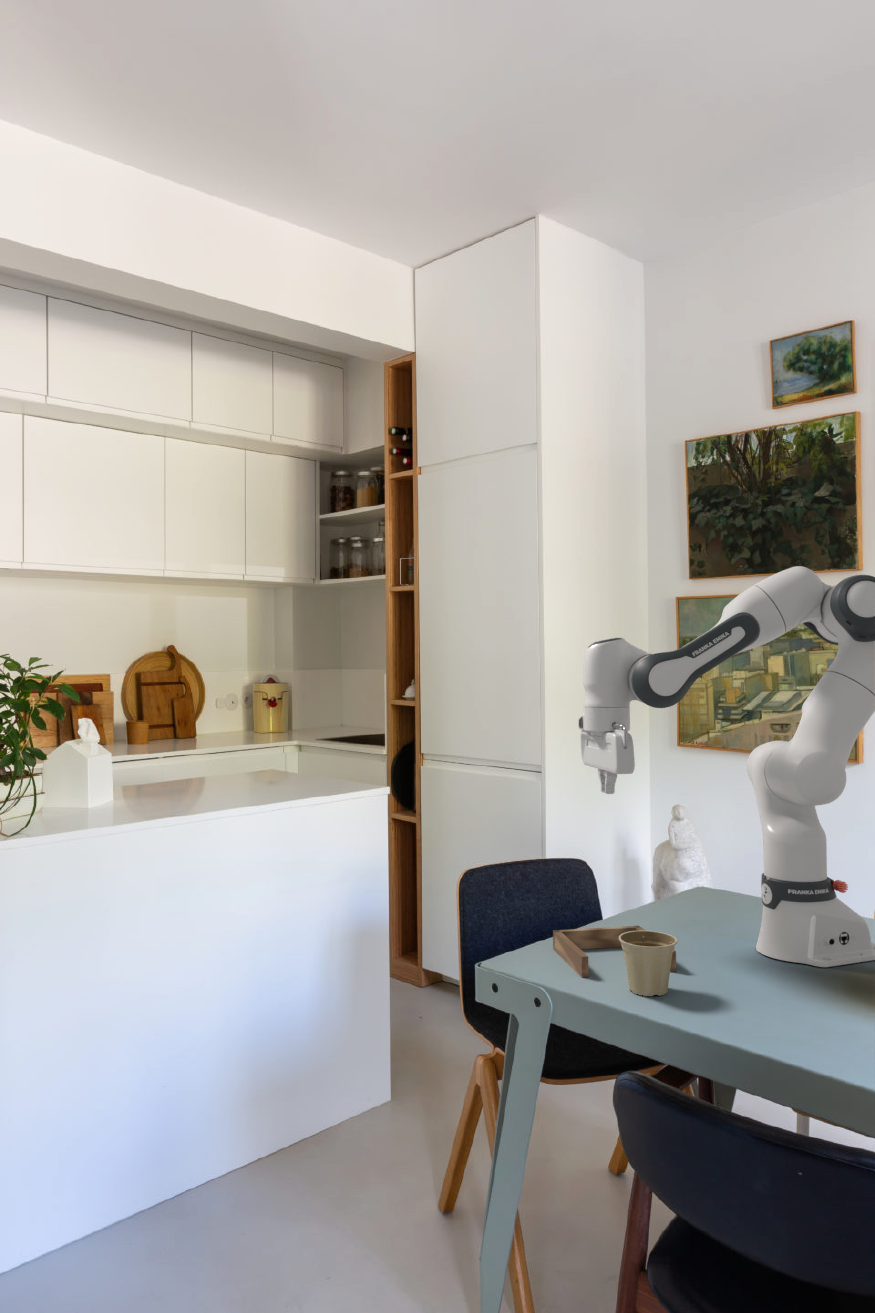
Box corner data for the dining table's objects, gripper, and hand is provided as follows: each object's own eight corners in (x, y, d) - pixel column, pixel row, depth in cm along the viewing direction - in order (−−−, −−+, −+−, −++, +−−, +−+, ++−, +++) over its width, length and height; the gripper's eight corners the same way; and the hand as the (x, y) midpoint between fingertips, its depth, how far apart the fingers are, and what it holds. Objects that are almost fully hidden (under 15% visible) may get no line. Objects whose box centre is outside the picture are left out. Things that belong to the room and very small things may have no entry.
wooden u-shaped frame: (639, 943, 179) (638, 925, 179) (676, 971, 162) (675, 951, 162) (553, 949, 176) (553, 930, 176) (581, 977, 159) (581, 957, 159)
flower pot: (679, 1002, 147) (679, 947, 147) (619, 999, 149) (618, 945, 149) (676, 983, 156) (675, 931, 156) (619, 980, 158) (618, 929, 158)
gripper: (642, 724, 170) (643, 799, 170) (604, 719, 190) (605, 786, 190) (609, 724, 169) (610, 800, 169) (575, 719, 189) (575, 787, 189)
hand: (607, 793), depth 180 cm, fingers closed
